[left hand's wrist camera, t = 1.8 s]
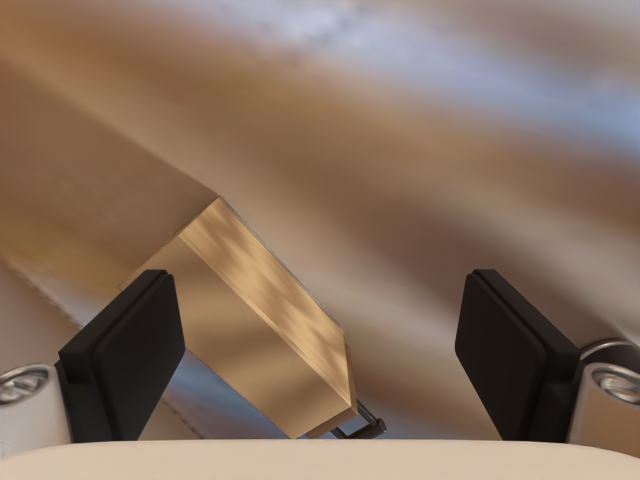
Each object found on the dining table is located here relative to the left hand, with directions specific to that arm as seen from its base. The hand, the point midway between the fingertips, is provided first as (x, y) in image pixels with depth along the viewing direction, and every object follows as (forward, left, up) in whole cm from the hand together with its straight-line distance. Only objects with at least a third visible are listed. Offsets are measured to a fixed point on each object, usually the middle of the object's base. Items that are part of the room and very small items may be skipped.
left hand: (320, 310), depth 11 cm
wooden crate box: (-2, -13, -24) cm, 27 cm away
